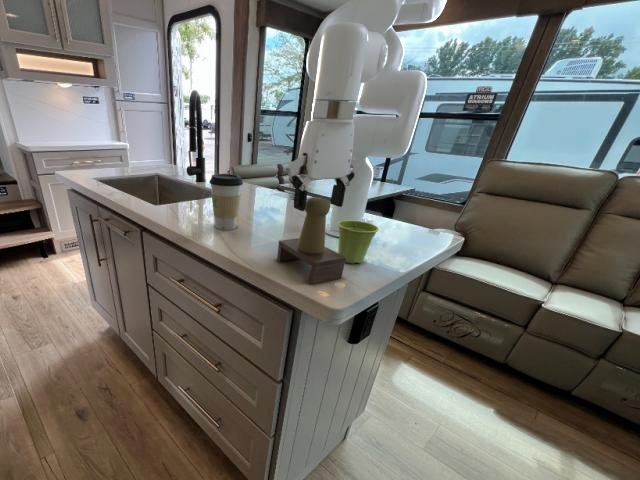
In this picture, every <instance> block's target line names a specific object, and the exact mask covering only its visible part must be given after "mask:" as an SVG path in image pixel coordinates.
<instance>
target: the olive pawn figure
mask: <svg viewBox="0 0 640 480" xmlns="http://www.w3.org/2000/svg"><path fill="white" fill-rule="evenodd" d="M330 202H331V201H330V200H329V199H327V198H324V197H320V196H314V197H309V198H307V200H306V207H305V210H304V211H305V217H304V220H303V221H304V222H303V224H302V228H301V231H300V235H299V237H298V238H299V242H298V246H297V248H298V249H299V250H301V251H303V252H307V253H322V252H324V248H325V247H326V245H325V243H326V232H325V226H326V224H327V223H326V221H327V215H328V214H329V213H330V210H331V203H330Z"/></svg>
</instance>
